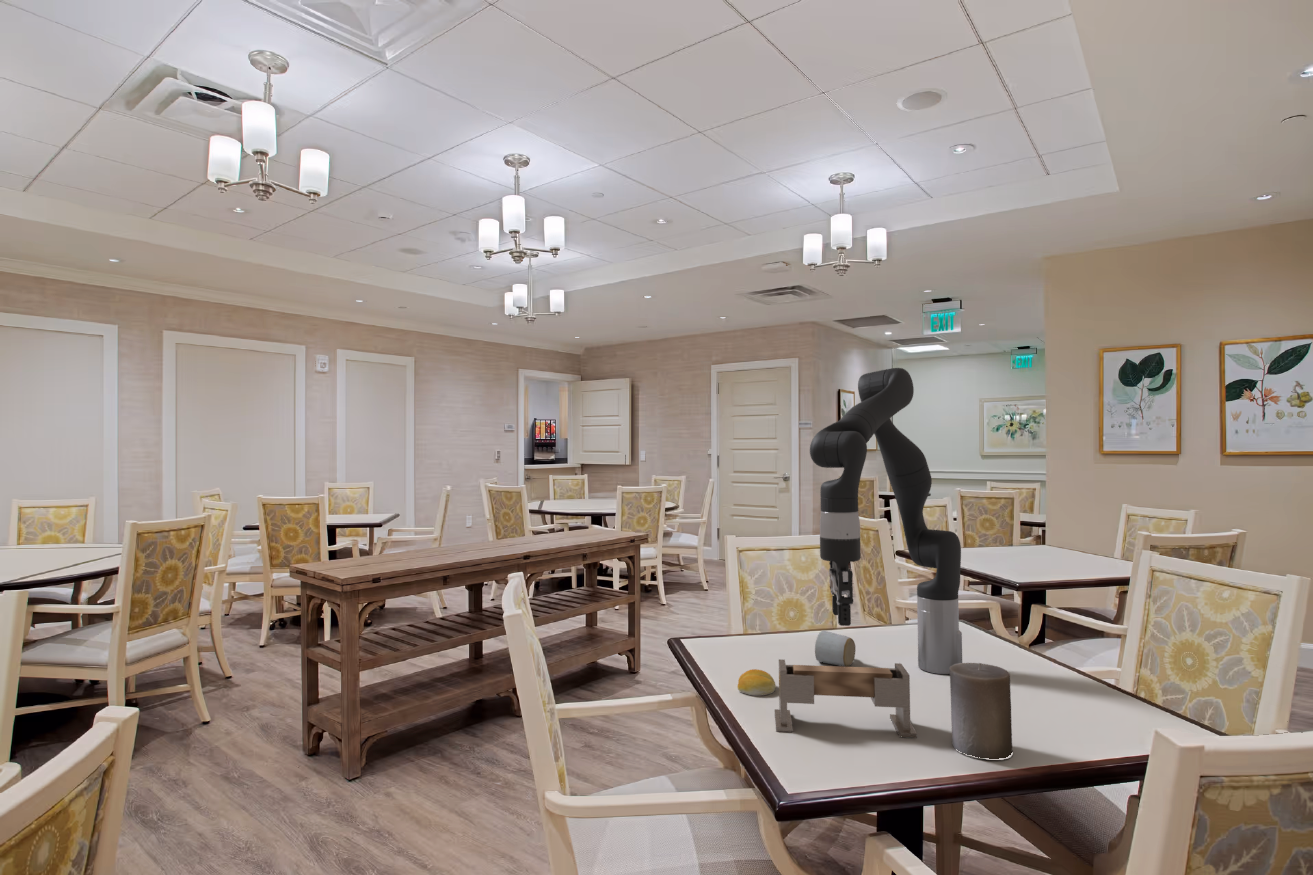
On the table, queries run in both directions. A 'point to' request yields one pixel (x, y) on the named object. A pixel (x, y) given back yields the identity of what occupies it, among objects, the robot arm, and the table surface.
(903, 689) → the brackets
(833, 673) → the rail
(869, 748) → the table surface
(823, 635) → the ceramic mug
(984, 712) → the pillar candle
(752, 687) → the bread roll
